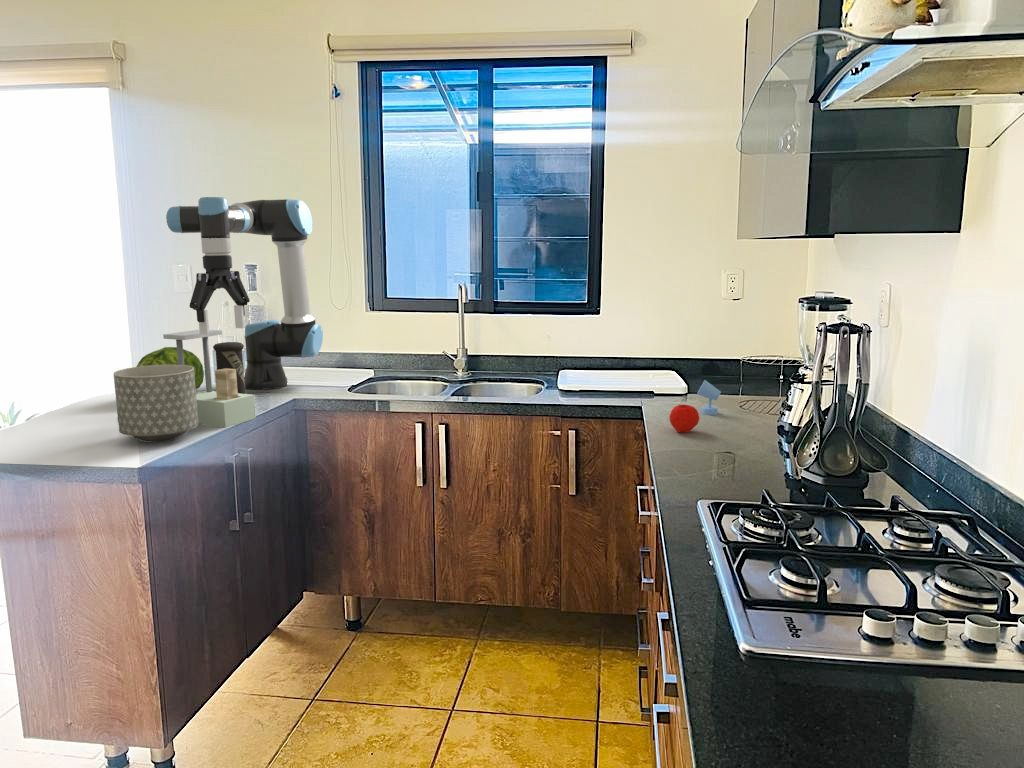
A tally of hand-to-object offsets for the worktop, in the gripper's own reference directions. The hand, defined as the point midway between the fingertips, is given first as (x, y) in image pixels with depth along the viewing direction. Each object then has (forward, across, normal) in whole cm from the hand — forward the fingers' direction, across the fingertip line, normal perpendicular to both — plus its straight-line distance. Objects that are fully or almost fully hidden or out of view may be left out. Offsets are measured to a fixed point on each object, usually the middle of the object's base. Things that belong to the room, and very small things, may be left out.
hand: (222, 331), depth 219 cm
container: (+26, -18, -15) cm, 35 cm away
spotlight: (+26, -63, +125) cm, 142 cm away
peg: (+25, 0, 0) cm, 25 cm away
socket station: (+26, 0, -4) cm, 26 cm away
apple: (+26, -38, +123) cm, 131 cm away
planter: (+26, +22, -2) cm, 34 cm away
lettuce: (+26, -14, -39) cm, 50 cm away
